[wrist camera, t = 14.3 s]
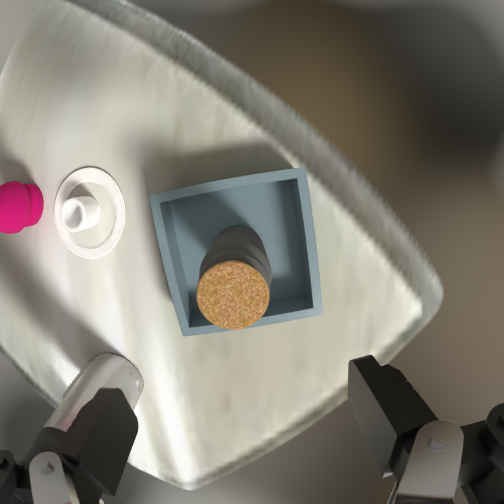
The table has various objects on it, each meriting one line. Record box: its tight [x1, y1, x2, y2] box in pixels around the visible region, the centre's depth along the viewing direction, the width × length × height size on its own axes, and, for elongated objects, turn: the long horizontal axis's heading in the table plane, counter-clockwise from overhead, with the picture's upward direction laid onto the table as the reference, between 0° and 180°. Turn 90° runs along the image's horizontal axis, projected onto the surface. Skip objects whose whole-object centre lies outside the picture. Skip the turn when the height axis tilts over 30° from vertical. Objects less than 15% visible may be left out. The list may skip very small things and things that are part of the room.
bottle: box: [196, 225, 272, 329], centre depth 25 cm, size 6×6×15 cm
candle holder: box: [54, 168, 125, 259], centre depth 30 cm, size 12×12×4 cm
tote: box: [149, 167, 323, 336], centre depth 31 cm, size 16×16×5 cm
